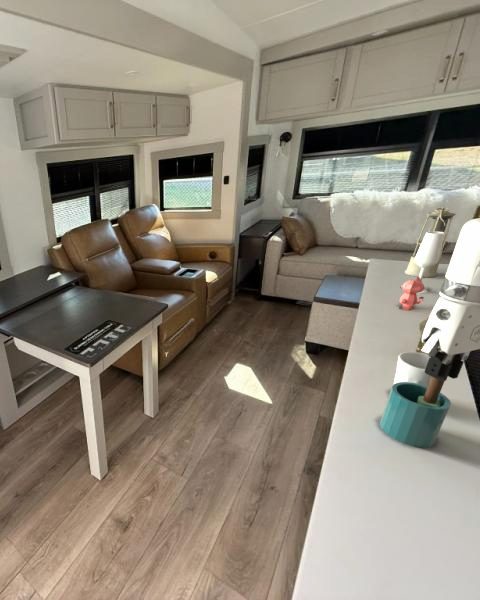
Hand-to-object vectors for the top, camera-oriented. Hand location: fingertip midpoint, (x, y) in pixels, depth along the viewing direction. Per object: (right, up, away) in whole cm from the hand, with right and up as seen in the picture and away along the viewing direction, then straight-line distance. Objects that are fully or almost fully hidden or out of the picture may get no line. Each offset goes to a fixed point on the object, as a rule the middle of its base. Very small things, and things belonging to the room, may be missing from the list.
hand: (440, 375), depth 62 cm
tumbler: (0, -15, +7) cm, 16 cm away
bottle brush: (+1, -11, +5) cm, 12 cm away
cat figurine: (+52, +12, +56) cm, 77 cm away
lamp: (+85, +26, +82) cm, 121 cm away
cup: (+9, -10, +15) cm, 20 cm away
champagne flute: (+68, +19, +68) cm, 99 cm away
